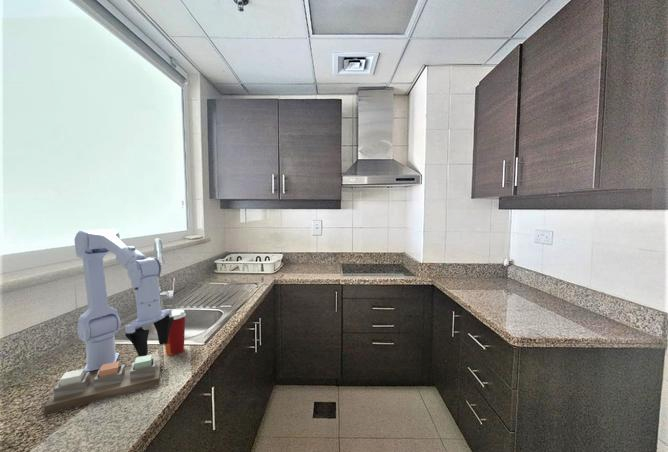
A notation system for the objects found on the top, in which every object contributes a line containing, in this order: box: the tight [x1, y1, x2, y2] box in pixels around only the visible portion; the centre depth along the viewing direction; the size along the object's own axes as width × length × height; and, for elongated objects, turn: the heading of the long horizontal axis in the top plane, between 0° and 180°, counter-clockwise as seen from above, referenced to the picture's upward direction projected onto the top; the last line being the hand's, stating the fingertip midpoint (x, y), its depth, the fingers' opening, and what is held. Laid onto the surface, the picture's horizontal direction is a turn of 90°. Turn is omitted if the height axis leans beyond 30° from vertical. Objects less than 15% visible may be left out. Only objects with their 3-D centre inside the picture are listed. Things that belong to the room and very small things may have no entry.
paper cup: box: [164, 309, 187, 356], centre depth 102 cm, size 8×8×14 cm
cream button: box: [59, 368, 85, 386], centre depth 78 cm, size 4×4×2 cm
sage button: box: [134, 354, 153, 370], centre depth 86 cm, size 4×4×2 cm
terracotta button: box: [98, 360, 121, 378], centre depth 82 cm, size 4×4×2 cm
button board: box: [43, 357, 162, 415], centre depth 82 cm, size 12×24×4 cm, turn 119°
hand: (153, 349), depth 81 cm, fingers open, 7 cm apart
